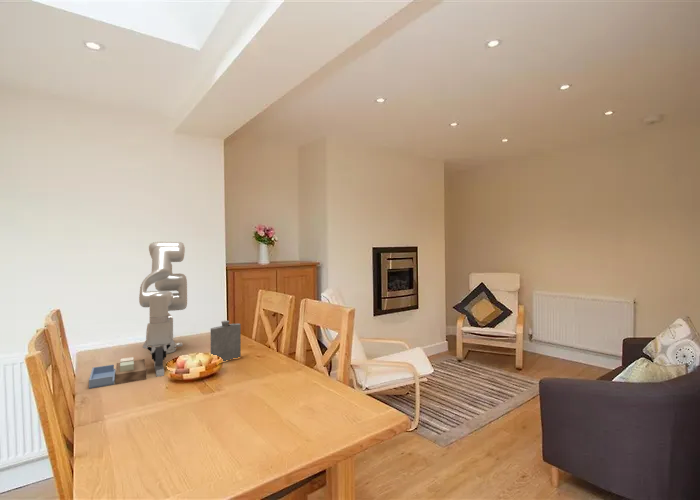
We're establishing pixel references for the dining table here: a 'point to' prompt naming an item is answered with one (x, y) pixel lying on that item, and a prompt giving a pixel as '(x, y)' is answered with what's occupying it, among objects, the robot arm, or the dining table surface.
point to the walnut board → (131, 373)
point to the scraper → (159, 361)
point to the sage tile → (126, 366)
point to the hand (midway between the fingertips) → (158, 359)
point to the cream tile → (126, 359)
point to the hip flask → (226, 341)
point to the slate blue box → (102, 376)
